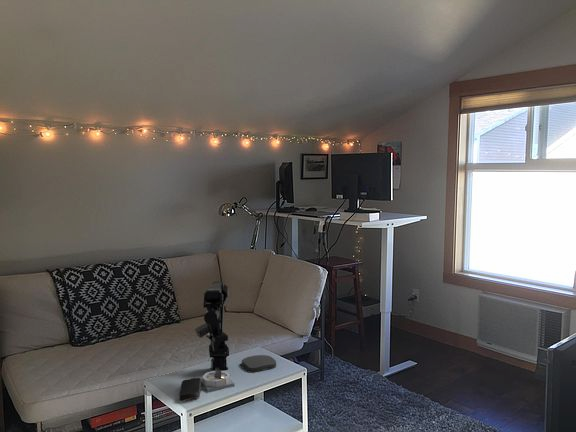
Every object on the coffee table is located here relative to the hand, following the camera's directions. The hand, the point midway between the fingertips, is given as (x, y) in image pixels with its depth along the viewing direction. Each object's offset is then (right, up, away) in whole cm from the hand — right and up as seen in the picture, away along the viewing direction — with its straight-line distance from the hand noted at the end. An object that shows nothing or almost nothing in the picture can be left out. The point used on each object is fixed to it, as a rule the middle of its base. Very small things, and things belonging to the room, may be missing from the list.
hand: (215, 351), depth 225 cm
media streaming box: (+19, -12, +17) cm, 28 cm away
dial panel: (+1, -13, -4) cm, 14 cm away
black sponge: (-9, -15, -12) cm, 21 cm away
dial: (+1, -12, -4) cm, 12 cm away
